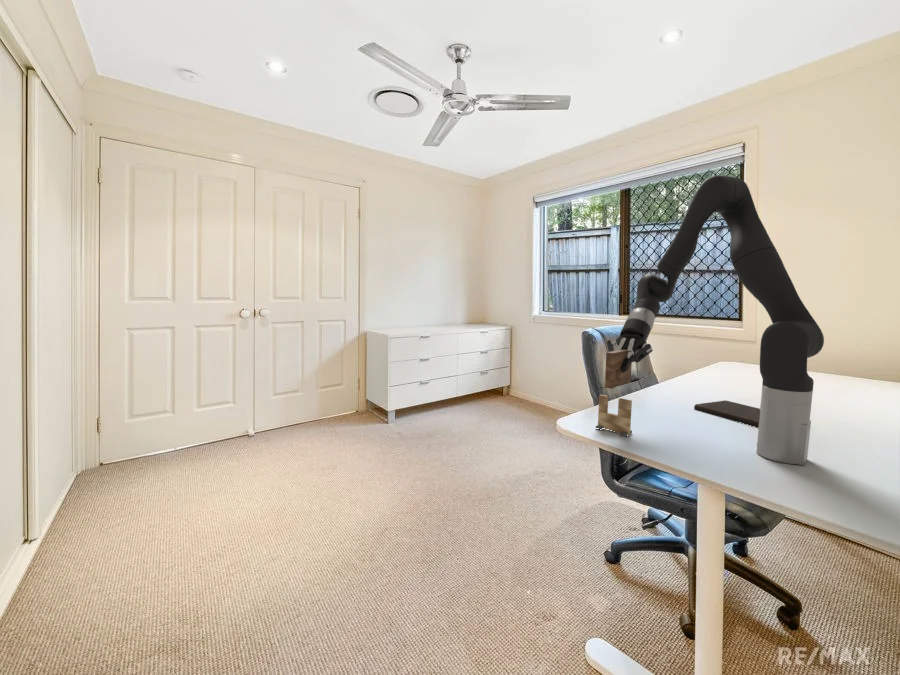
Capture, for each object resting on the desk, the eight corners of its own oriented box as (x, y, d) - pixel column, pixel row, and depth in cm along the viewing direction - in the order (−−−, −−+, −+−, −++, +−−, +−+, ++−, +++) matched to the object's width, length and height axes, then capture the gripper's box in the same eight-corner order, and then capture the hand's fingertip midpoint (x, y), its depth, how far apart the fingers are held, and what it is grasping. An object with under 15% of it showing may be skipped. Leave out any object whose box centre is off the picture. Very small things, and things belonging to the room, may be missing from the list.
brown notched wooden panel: (630, 382, 117) (632, 349, 116) (611, 388, 109) (613, 353, 108) (624, 381, 119) (625, 348, 118) (604, 387, 111) (606, 352, 110)
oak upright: (632, 433, 111) (634, 399, 110) (625, 437, 109) (627, 402, 108) (602, 426, 118) (603, 393, 117) (595, 429, 115) (596, 395, 114)
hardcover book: (725, 406, 141) (725, 400, 141) (801, 426, 120) (801, 418, 120) (693, 410, 136) (694, 404, 136) (767, 432, 114) (768, 424, 114)
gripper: (612, 316, 123) (591, 359, 116) (659, 318, 113) (638, 365, 106) (619, 332, 127) (599, 374, 120) (665, 335, 117) (645, 381, 110)
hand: (617, 370), depth 113 cm, fingers closed on brown notched wooden panel, 2 cm apart
